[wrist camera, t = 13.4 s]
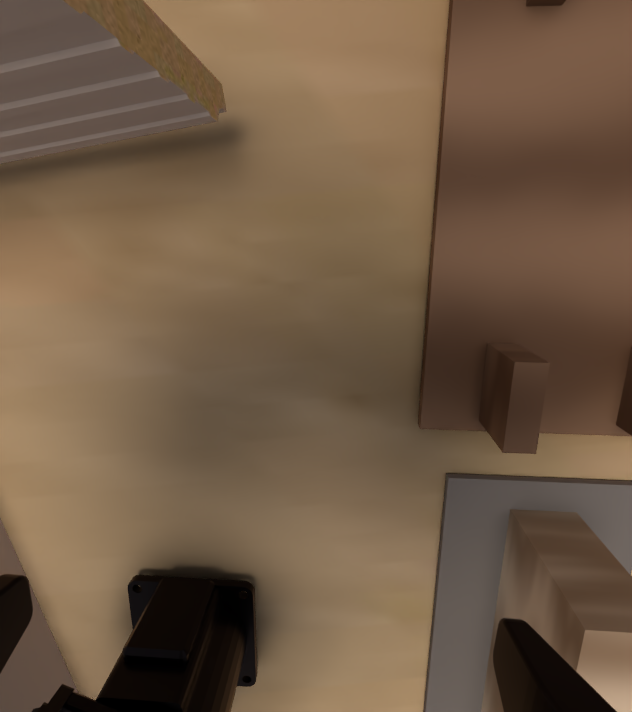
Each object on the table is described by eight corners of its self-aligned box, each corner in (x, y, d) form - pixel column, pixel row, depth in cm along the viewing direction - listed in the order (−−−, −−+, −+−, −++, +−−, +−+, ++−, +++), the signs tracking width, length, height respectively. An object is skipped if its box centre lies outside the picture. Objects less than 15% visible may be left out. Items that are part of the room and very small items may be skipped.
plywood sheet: (533, 735, 24) (602, 914, 17) (478, 731, 24) (526, 906, 17) (576, 512, 20) (682, 636, 14) (510, 509, 20) (585, 629, 14)
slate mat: (583, 751, 24) (587, 759, 24) (421, 738, 25) (422, 746, 24) (645, 481, 20) (651, 486, 19) (446, 473, 20) (448, 477, 20)
